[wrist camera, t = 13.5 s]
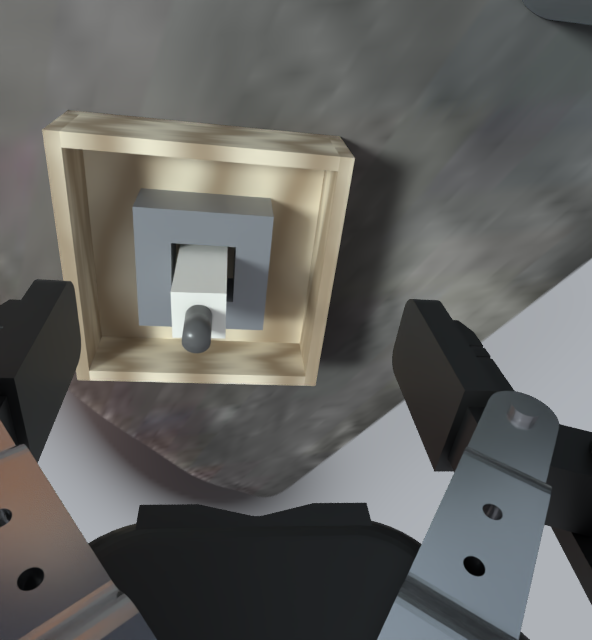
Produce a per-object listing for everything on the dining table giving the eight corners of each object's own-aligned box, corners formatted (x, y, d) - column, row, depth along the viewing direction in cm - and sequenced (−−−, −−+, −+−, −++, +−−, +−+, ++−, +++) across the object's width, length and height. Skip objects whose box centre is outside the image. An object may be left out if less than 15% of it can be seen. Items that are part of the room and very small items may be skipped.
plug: (227, 232, 42) (225, 318, 32) (226, 271, 44) (224, 365, 33) (183, 230, 42) (165, 316, 31) (184, 270, 44) (167, 364, 33)
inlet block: (270, 198, 41) (273, 217, 38) (260, 305, 46) (262, 330, 43) (140, 188, 40) (132, 206, 36) (146, 300, 45) (139, 325, 42)
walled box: (339, 136, 40) (354, 158, 35) (307, 346, 51) (315, 385, 46) (68, 110, 37) (42, 129, 32) (94, 338, 48) (77, 380, 43)
